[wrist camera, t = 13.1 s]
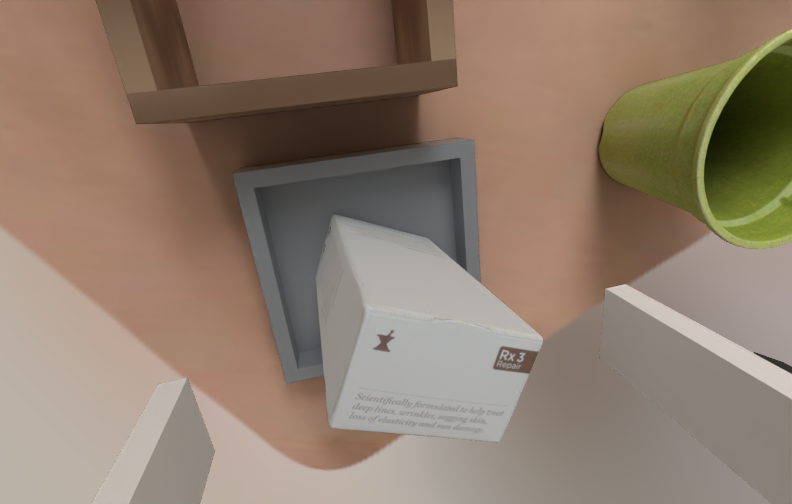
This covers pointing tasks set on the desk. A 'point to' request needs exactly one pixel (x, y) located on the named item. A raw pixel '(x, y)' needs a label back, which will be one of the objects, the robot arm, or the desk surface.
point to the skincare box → (415, 338)
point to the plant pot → (713, 144)
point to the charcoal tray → (358, 199)
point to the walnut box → (188, 102)
